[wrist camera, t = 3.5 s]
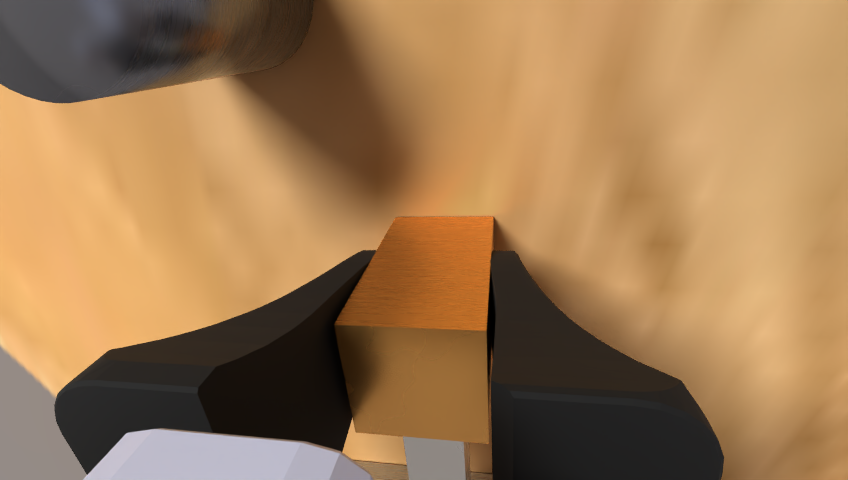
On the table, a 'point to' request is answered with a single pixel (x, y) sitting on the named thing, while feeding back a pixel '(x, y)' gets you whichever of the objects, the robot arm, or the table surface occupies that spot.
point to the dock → (402, 471)
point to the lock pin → (423, 342)
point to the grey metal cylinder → (140, 43)
